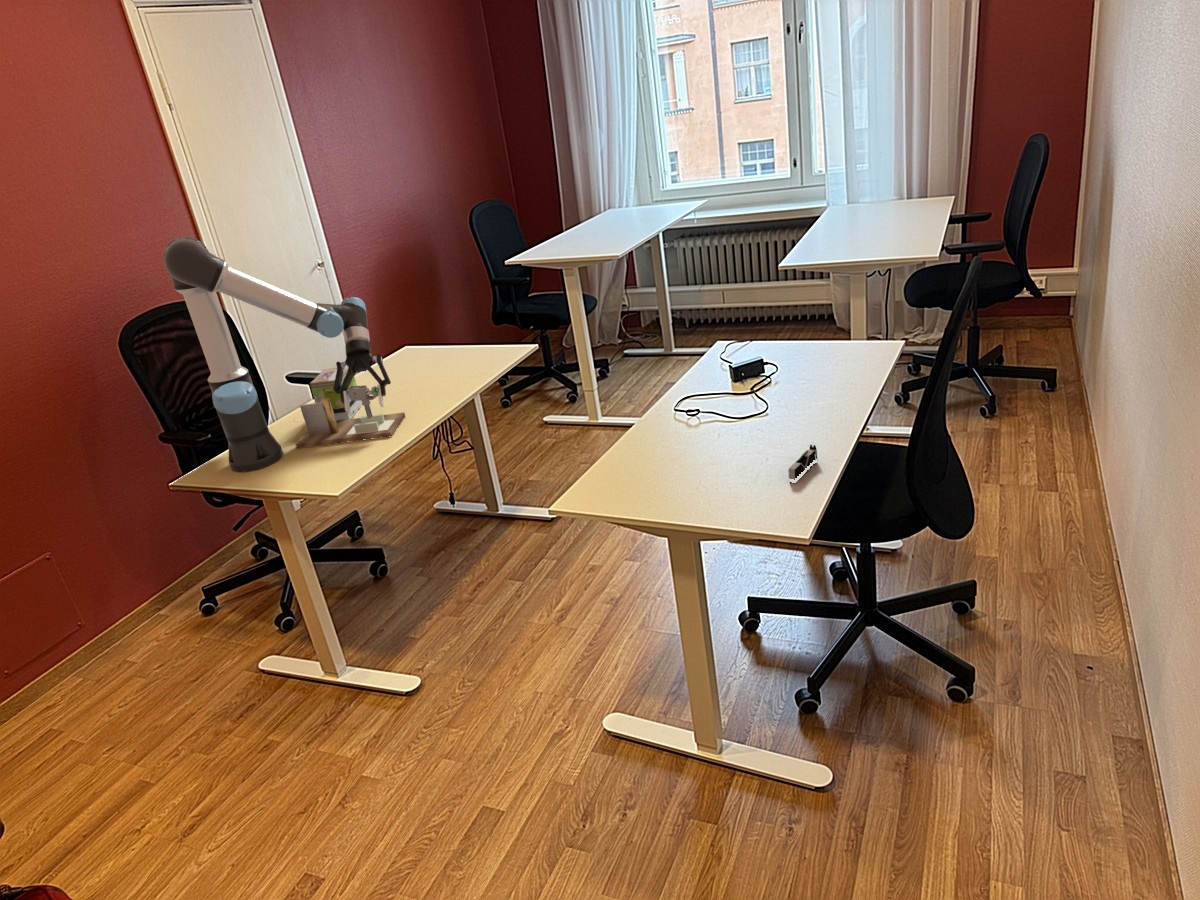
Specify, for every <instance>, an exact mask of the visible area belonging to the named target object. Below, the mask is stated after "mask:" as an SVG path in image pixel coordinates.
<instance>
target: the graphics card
mask: <svg viewBox="0 0 1200 900" xmlns="http://www.w3.org/2000/svg"><path fill="white" fill-rule="evenodd" d="M816 459H817V460H818V449H817V446H816V445H815V444H810V445H809V448H808V449H807V450H805V451H804V452H803V453H802V454H801V455H800V457H799V458H798V459H797V460H796V461H795V462H794V463H792V465H790V466H789V467H788V479H789V478H790V479H794V480H795V478H797V476H799V474H801V472H803V471H804V470H805V468H807V466H809V465H810V463H812V462H813V460H816Z"/></svg>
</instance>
